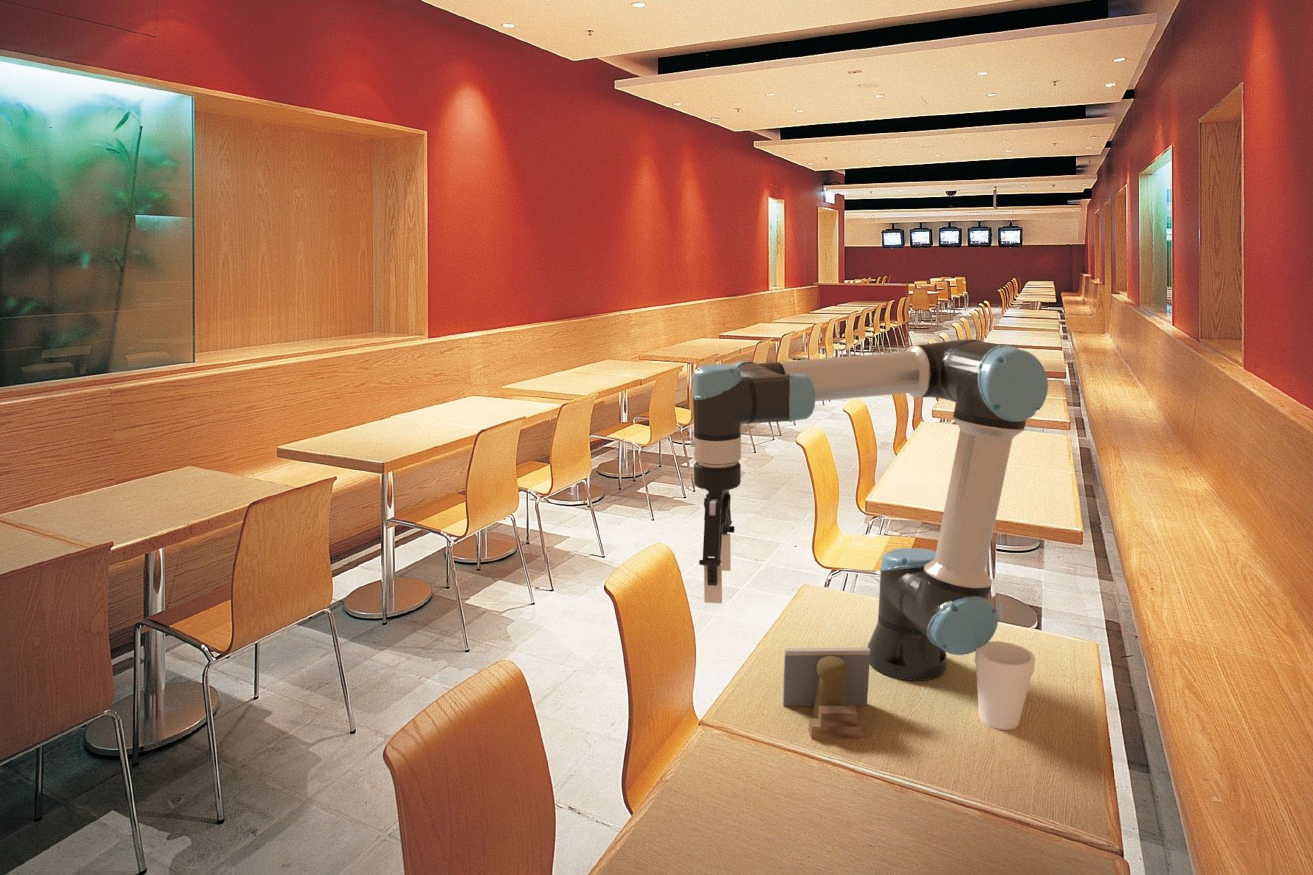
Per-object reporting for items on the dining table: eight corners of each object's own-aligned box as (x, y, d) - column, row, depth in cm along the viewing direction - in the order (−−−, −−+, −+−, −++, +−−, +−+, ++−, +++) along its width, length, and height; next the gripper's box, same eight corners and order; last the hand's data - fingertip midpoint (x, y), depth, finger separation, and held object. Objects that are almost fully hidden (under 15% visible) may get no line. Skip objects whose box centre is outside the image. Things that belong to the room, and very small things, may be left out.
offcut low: (860, 731, 148) (861, 718, 147) (864, 740, 145) (865, 726, 144) (808, 731, 147) (809, 718, 147) (811, 740, 145) (811, 726, 144)
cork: (805, 712, 153) (807, 655, 150) (834, 705, 155) (837, 649, 153) (824, 729, 147) (827, 671, 145) (854, 722, 150) (857, 664, 147)
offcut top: (853, 718, 147) (854, 705, 146) (856, 726, 144) (857, 713, 144) (818, 718, 147) (818, 705, 146) (820, 726, 144) (821, 713, 144)
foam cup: (1034, 738, 145) (1042, 668, 143) (977, 735, 146) (984, 664, 144) (1018, 709, 155) (1024, 642, 152) (964, 706, 156) (970, 639, 153)
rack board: (865, 702, 156) (868, 647, 154) (867, 705, 155) (870, 650, 153) (782, 702, 156) (784, 648, 154) (783, 706, 155) (785, 651, 152)
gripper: (704, 442, 151) (705, 556, 156) (682, 482, 127) (684, 615, 132) (746, 443, 150) (746, 558, 155) (732, 484, 126) (733, 618, 131)
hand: (718, 585), depth 143 cm, fingers open, 13 cm apart
